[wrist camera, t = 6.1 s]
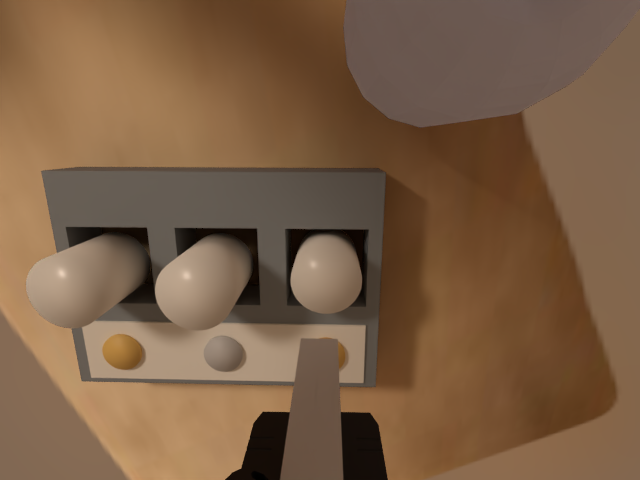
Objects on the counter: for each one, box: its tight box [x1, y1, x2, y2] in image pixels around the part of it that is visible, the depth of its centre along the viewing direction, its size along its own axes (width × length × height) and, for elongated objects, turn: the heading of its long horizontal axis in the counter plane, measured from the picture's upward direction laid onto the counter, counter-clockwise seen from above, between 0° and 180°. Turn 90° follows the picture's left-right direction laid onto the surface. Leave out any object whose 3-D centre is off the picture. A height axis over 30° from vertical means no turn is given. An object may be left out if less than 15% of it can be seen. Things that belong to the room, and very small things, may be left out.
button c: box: [291, 229, 362, 314], centre depth 27 cm, size 5×5×6 cm
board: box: [41, 167, 386, 387], centre depth 29 cm, size 24×17×4 cm
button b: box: [155, 233, 254, 330], centre depth 25 cm, size 5×5×6 cm
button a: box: [26, 232, 150, 328], centre depth 25 cm, size 5×5×6 cm
